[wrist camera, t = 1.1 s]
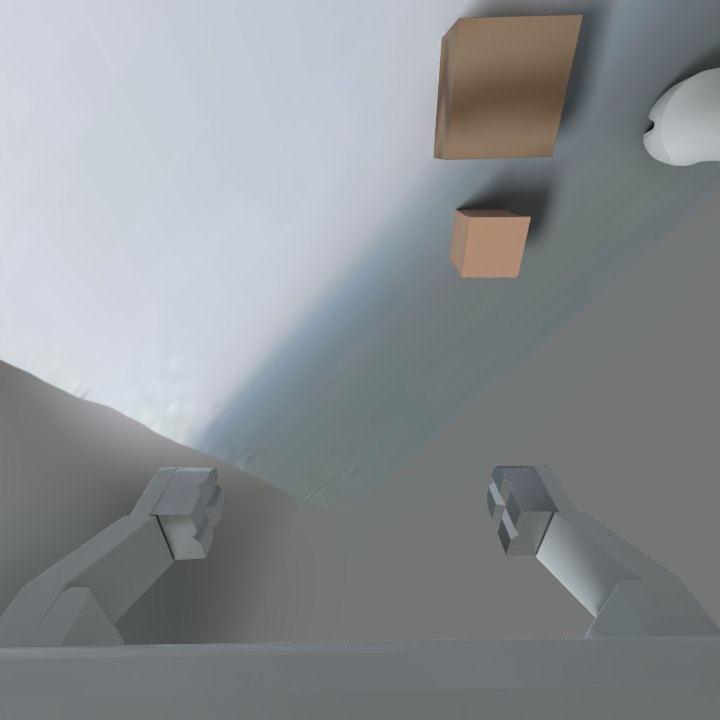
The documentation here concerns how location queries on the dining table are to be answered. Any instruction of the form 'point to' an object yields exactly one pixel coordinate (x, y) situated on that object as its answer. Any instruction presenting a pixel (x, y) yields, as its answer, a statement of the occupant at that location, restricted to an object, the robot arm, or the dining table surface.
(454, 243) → the brown cardboard box
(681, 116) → the water bottle
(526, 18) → the walnut box
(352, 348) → the dining table surface
